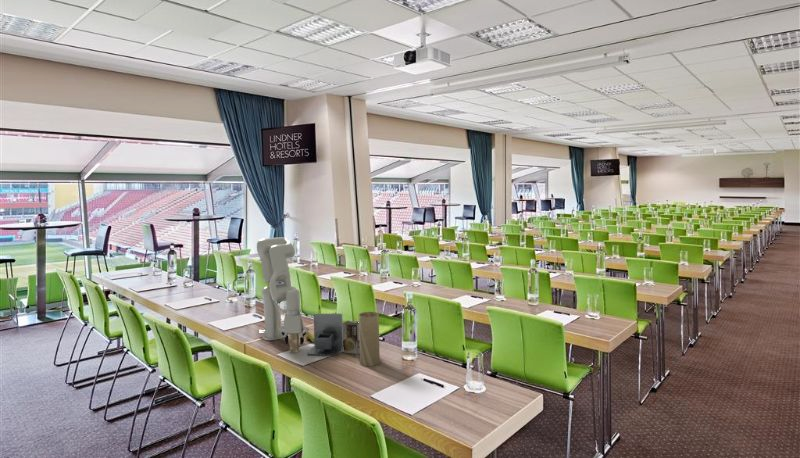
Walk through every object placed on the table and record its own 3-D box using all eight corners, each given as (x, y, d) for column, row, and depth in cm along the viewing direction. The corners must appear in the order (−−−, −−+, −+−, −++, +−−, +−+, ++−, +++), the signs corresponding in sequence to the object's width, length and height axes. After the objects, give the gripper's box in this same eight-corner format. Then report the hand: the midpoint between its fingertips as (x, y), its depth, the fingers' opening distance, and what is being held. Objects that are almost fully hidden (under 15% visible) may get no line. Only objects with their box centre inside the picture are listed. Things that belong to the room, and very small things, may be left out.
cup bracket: (307, 355, 255) (306, 320, 254) (315, 345, 271) (314, 313, 269) (336, 356, 253) (335, 321, 252) (343, 346, 269) (342, 313, 268)
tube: (366, 367, 237) (365, 318, 235) (356, 361, 245) (355, 314, 243) (383, 363, 243) (382, 314, 240) (372, 357, 251) (371, 310, 249)
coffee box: (362, 350, 262) (362, 321, 261) (358, 354, 256) (357, 324, 255) (347, 348, 265) (347, 320, 264) (342, 352, 259) (341, 323, 258)
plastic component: (315, 340, 274) (305, 329, 280) (313, 350, 277) (304, 339, 283) (343, 330, 287) (333, 320, 293) (340, 339, 290) (331, 329, 297)
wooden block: (289, 352, 260) (289, 327, 259) (292, 350, 264) (291, 325, 263) (297, 352, 260) (296, 327, 259) (299, 350, 264) (298, 325, 263)
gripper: (275, 313, 257) (276, 345, 259) (306, 314, 256) (307, 346, 257) (280, 310, 265) (281, 341, 266) (310, 310, 263) (311, 341, 264)
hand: (294, 343), depth 262 cm, fingers open, 7 cm apart
